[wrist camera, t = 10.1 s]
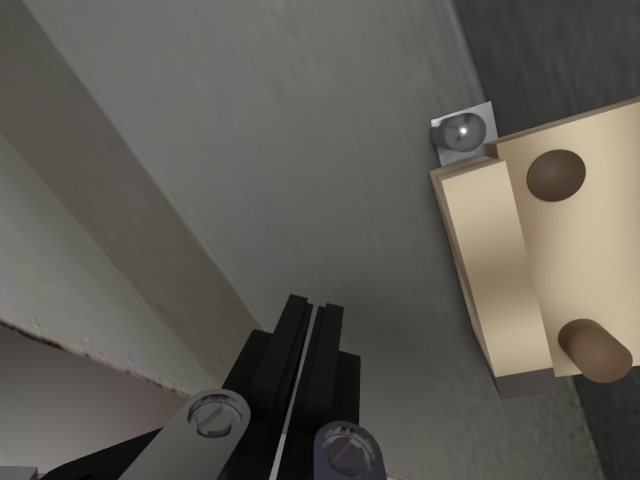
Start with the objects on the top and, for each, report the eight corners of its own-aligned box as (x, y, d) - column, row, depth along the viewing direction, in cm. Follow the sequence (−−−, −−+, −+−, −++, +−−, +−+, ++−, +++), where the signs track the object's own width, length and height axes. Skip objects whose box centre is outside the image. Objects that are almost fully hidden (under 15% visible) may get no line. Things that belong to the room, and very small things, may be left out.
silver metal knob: (438, 176, 18) (458, 190, 14) (426, 122, 18) (441, 117, 13) (500, 158, 18) (543, 167, 13) (489, 101, 17) (530, 88, 12)
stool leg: (429, 171, 18) (441, 180, 14) (478, 155, 17) (505, 160, 13) (478, 349, 20) (501, 399, 16) (524, 340, 19) (558, 389, 16)
